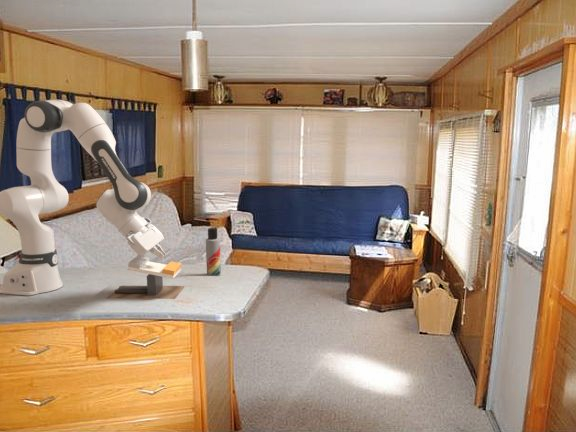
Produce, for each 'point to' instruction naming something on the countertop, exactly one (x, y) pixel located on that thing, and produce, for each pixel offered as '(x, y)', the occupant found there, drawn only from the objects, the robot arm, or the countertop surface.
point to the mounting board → (165, 293)
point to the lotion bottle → (213, 253)
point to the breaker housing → (154, 284)
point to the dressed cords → (132, 290)
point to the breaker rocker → (154, 267)
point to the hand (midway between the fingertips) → (163, 256)
